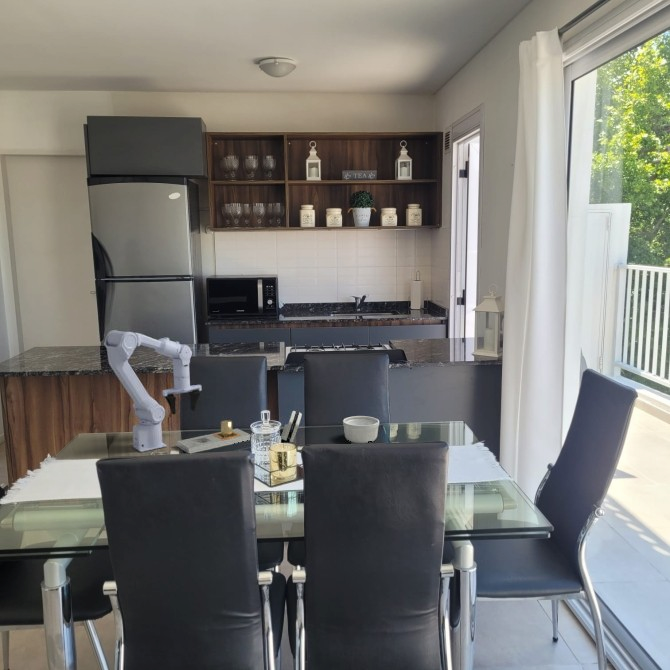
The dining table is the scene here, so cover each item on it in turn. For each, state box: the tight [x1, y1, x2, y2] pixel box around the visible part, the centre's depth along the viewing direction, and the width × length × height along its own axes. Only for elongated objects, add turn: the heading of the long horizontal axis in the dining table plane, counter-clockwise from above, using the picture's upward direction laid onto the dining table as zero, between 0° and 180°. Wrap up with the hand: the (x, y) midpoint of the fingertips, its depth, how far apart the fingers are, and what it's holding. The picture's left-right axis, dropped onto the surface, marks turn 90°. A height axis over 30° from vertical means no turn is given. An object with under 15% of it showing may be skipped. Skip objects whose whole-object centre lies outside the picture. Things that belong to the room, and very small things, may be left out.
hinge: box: [280, 410, 303, 443], centre depth 218 cm, size 17×5×10 cm, turn 179°
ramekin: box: [342, 415, 380, 444], centre depth 213 cm, size 13×13×7 cm
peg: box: [220, 420, 233, 438], centre depth 213 cm, size 4×4×7 cm
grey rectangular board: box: [176, 428, 252, 454], centre depth 210 cm, size 24×10×2 cm, turn 128°
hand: (183, 411), depth 218 cm, fingers open, 7 cm apart
